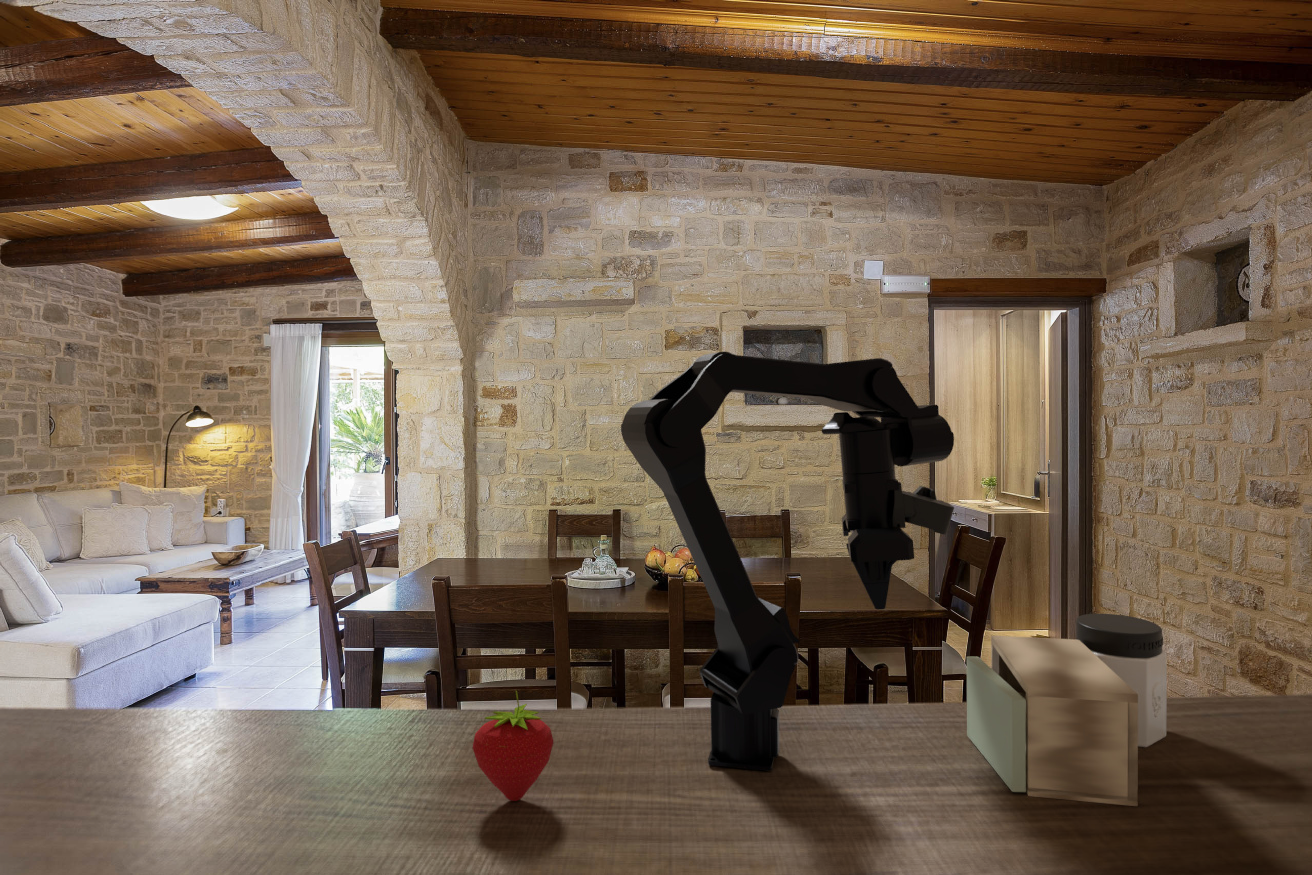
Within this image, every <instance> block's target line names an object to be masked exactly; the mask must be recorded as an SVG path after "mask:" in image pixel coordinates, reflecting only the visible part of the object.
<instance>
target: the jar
mask: <svg viewBox="0 0 1312 875" xmlns="http://www.w3.org/2000/svg"><path fill="white" fill-rule="evenodd" d="M1075 640H1080V641H1081V642H1082V643H1083V644H1084V645H1085V646H1086V647H1087V648H1088V649H1089V650H1091V651H1092V652H1093V653H1094V654H1095V655H1096V656H1097V657H1098V658H1099V659H1100V660H1101V661H1102V662H1104V663H1105V664H1106V665H1107V666H1108V667H1109V668H1110V669H1111V670H1112V671H1113V672H1114V673H1115V674H1117V675H1118V676H1119V677H1120V678H1121V679H1122V680H1123V681H1124V682H1125V683H1126V684H1127V685H1128V686H1130V687H1131V688H1132V689H1133V690H1134V691H1135V692H1136V693H1137V694H1138V747H1139V748H1140V747H1141V748H1148V747H1150V746H1151V745H1154V744H1155V743H1157V742H1158V741H1161V740H1162V739H1164V738H1165V737H1166V736H1167V692H1168V691H1167V688H1168V687H1167V679H1168V678H1167V673H1168V672H1167V670H1168V667H1167V666H1168V665H1167V664H1168V662H1167V659H1168V658H1167V655H1168V654H1167V651H1166V650H1163V646H1164V637H1163V628H1162V627H1161V626H1160V625H1158V624H1157V623H1155V622H1152V621H1150V620H1147V619H1143V618H1140V617H1134V616H1129V615H1123V614H1117V613H1116V614H1114V613H1088V614H1087V613H1086V614H1083V615H1080V616H1079V615H1078V617H1076V619H1075Z"/></svg>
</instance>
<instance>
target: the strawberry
mask: <svg viewBox="0 0 1312 875" xmlns="http://www.w3.org/2000/svg"><path fill="white" fill-rule="evenodd" d="M515 696H516V703H517V706H516V707H515V708H514V713H513V711H495V710H493V711H492V714H493V715H490V716H485V717H484V720H489V721H488V722H487V721H486V723H483V725H482V726H481V727H480V728H478V730H477V731H476V732H475V734H474V738H473V743H472V751H473V754H474V757H475V760H476V762H477V765H478V767H479V769H480V770H481V771H482V773H483V774H484V775H485V776H486V777H487V779H488V781H489V782H491V784H493V786H495V787H496V788H497V789H498V790H499V791H500V792H501V793H502V794H503V795H504V797H505V798H506V799H507V800H508V801H511V802H517V801H519V800H521V799H522V798H524V796H525V795H526V794H527V791H529V789H530V788H531V787H532V786H533V784H534V783H536V782H537V780H538V778H539V776H540V775H541V774H542V772H543V771H544V770H545V767H546V766H547V765H548V763H549V760H550V758H551V753H552V751H553V750H552V749H553V747H554V737H553V734H552V730H551V728H550V726H548V725H547V723H546V722H544V721H543V720H542V717H540V716H536V715H537V714H539V713H540V712H539V711H535V710H528V709H525V708H526V706H527V704H528V703H524V704H522V705H520V702H519V697H518V696H519V695H518V691H517V690H515Z"/></svg>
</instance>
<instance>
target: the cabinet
mask: <svg viewBox="0 0 1312 875" xmlns="http://www.w3.org/2000/svg"><path fill="white" fill-rule="evenodd" d="M990 638H991V639H990V649H991V650H990V651H991V652H990V654H991V655H990V666H991V667H990V668H991V669H992V670H993V671H995V672H996V673H997V674H998V675H999V676H1000V677H1001V678H1002V679H1003V680H1004V681H1006V682H1007V683H1008V684H1009V685H1010V686H1011V687H1012V688H1013V689H1014V690H1015V691H1017V692H1018V693H1019V694H1020V695H1021V696H1022V697H1023V698H1024V699H1025V711H1026V792H1025V793H1026V794H1027V796H1028V797H1036V798H1043V799H1044V798H1047V799H1056V800H1057V799H1058V800H1066V801H1067V800H1068V801H1077V802H1078V801H1079V802H1088V803H1098V804H1108V805H1109V804H1111V805H1119V806H1130V807H1132V806H1133V807H1138V802H1139V801H1138V788H1139V787H1138V786H1139V785H1138V784H1139V783H1138V781H1139V780H1138V779H1139V778H1138V777H1139V776H1138V775H1139V773H1138V772H1139V771H1138V769H1139V768H1138V765H1139V762H1138V759H1139V758H1138V756H1139V755H1138V754H1139V751H1138V750H1139V748H1138V747H1139V746H1138V694H1137V693H1136V692H1135V691H1134V690H1133V689H1132V688H1131V687H1130V686H1128V685H1127V684H1126V683H1125V682H1124V681H1123V680H1122V679H1121V678H1120V677H1119V676H1118V675H1117V674H1115V673H1114V672H1113V671H1112V670H1111V669H1110V668H1109V667H1108V666H1107V665H1106V664H1105V663H1104V662H1102V661H1101V660H1100V659H1099V658H1098V657H1097V656H1096V655H1095V654H1094V653H1093V652H1092V651H1091V650H1089V649H1088V648H1087V647H1086V646H1085V645H1084V644H1083V643H1082V642H1081V641H1080V640H1076V638H1075V639H1072V638H1071V639H1069V638H1055V637H1054V638H1050V637H1031V636H1027V637H1026V636H1010V635H991V636H990Z"/></svg>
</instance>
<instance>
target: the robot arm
mask: <svg viewBox="0 0 1312 875" xmlns="http://www.w3.org/2000/svg"><path fill="white" fill-rule="evenodd" d="M730 393H739V394H750V395H751V394H752V395H763V396H764V395H766V396H775V397H776V396H777V397H790V398H802V399H803V398H804V399H807V400H811V401H814V402H815V403H817V404H819V405H821V406H824V407H827V408H831V409H835V410H839V411H840V412H834V413H833V416H831V419H830V420H829V421H828V422H827V423H826V424H825V425H824V426H823V427H822V429H821V433H822V434H823V435H838V436H839V450H840V460H841V472H842V473H841V474H842V480H841V482H842V484H841V485H842V490H843V496H844V498H843V499H844V507H845V508H844V509H845V513H844V515H843V516H842V517H841V526H842V527H841V529H842V535H843V537H847V543H846V544H845V546H846V549H847V553H848V557H849V559H850V562H851V563H852V564H853V566H854V569H855V570H856V573H857V574H858V577H859V579H860V581H861V582H862V585H863V587H864V589H865V591H866V593H867V594H868V597H869V599H870V600H871V604H872V606H873V608H874V609H875V610H877V611H878V610H885V609H886V607H887V606H886V605H887V600H888V593H889V586H890V581H891V580H890V579H891V574H892V568H893V566H894V564H895V563H897V561H911V560H914V559H915V550H914V548H915V547H914V540H913V538H912V537H911V536H910V535H909V534H908V533H907V532H906V531H905V530H903V529H905V528H906V523H908V524H911V525H914V526H918V527H922V528H925V529H928V530H932V531H933V532H934V533H936V534H940V535H945V536H946V535H947V533H948V530H949V526H950V523H951V521H952V520H951V519H952V518H953V517H952V516H953V514H954V509H955V506H953V505H951V504H950V503H948V502H946V501H943V500H942V499H937V496H936V491H935V490H934V489H933V488H930V487H928V486H927V487H926V486H922V485H919V486H918V487H917V488H916V489H915V490H914V491H913V492H912V491H905V490H902V489H903V488H902V487H903V486H902V482H900V481H899V480H898V479H897V478H896V477H897V476H896V469H895V468H896V466H897V467H902V468H903V467H908V466H915V465H922V464H923V465H924V464H929V463H937V462H942V461H944V460H946V459H947V458H948V457H949V456H950V455H951V453H952V451H953V449H954V446H955V436H954V432H953V431H952V429H951V428H952V427H951V426H950V424H949V423H948V421H947V420H946V418H945V417H943V416H942V415H940V414H939V413H940V412H939V411H940V410H939V405H938V404H922V405H918V404H917V403H916V402H915V400H914V399H913V398H912V396H911V394H910V393H909V392H908V390H907V389H906V387H905V385H904V384H903V382H902V381H901V380H900V378H899V377H898V373H897V372H896V370H895V368H894V366H893V363H892V362H891V361H889V360H888V359H885V358H881V357H878V358H877V357H876V358H870V359H869V358H868V359H867V358H866V359H860V360H849V361H841V362H833V363H832V362H831V363H830V362H829V363H817V362H809V361H808V362H807V361H798V360H789V359H779V358H769V357H760V356H749V355H738V354H734V353H732V352H730V351H717V352H713V353H712V352H711V353H706V354H702V355H701V356H699V357H697V358H696V359H695V361H693V363H692V364H691V365H690V366H689V367H688V368H687V369H685V371H683V372H682V373H681V374H679V375H678V376H676V377H675V378H674V379H672V380H671V381H670V382H669V383H667V384H666V385H665V386H663V387H662V388H661V389H659V390H658V391H657V392H656V393H655V394H653V395H652V396H651V397H650V399H645V400H642V401H639V402H636V403H634V404H633V405H631V406H630V407H629V408H628V410H627V411H626V412H625V414H624V417H623V420H622V423H621V425H620V433H621V437H622V440H623V442H624V443H625V445H626V447H627V448H628V450H629V451H630V453H631V454H632V455H633V457H634V459H635V460H636V461H637V462H636V463H638V465H639V466H640V467H641V469H642V470H643V471H644V472H645V473H646V474H647V475H648V477H650V478H651V480H652V481H653V482H654V483H655V484H656V485H657V487H659V489H660V491H662V493H663V495H664V497H665V499H666V502H667V504H668V506H669V509H670V511H671V513H672V516H673V518H674V519H675V521H676V524H677V527H678V529H679V531H680V533H681V535H682V537H683V539H684V540H683V541H684V542H685V544H686V547H687V549H688V551H689V553H690V555H691V558H692V560H693V562H694V564H695V565H694V566H695V567H696V569H697V572H698V573H699V576H700V577H701V580H702V582H703V584H704V587H705V589H706V591H707V594H708V595H709V596H708V597H709V598H710V600H711V603H712V604H713V607H714V628H713V629H714V635H715V638H716V641H717V647H716V648H715V649H714V651H713V652H712V653H711V655H709V657H708V658H707V659H706V661H705V662H704V663H703V665H702V666H701V667H700V668H699V670H698V671H699V676H700V678H701V680H702V683H703V687H705V688H707V689H709V690H711V691H712V695H711V697H710V747H711V748H710V753H709V755H708V758H707V764H708V765H709V766H713V767H724V768H725V767H726V768H736V769H737V768H738V769H745V770H757V771H766V772H767V771H769V772H770V771H771V770H773V766H774V760H775V759H776V758H777V757H779V750H780V710H779V708H782V707H783V705H784V703H785V698H786V695H787V691H788V689H789V685H790V681H791V678H792V675H793V674H794V672H795V669H796V665H797V664H798V663H799V654H798V650H797V647H796V645H795V644H799V643H800V639H799V638H798V637H797V636H796V635H795V634H794V632H793V630H792V628H791V625H790V621H789V617H788V614H787V612H786V610H785V608H784V607H781V606H779V605H777V604H774V603H772V602H770V601H767V600H765V599H763V598H761V597H758V596H757V593H756V591H755V589H754V586H753V583H752V582H751V579H750V577H749V575H748V572H747V570H746V567H745V565H744V563H743V561H742V559H741V555H740V554H739V551H738V548H737V547H736V544H735V542H734V540H733V538H732V535H731V533H730V530H729V529H728V526H727V524H726V521H725V518H724V517H723V514H722V512H721V510H720V507H719V505H718V503H717V500H716V498H715V495H714V493H713V491H712V489H711V486H710V484H709V482H708V479H707V476H706V462H707V461H706V460H707V449H706V444H705V443H706V442H705V440H704V436H703V431H702V430H703V428H705V426H706V425H707V424H708V423H709V422H710V421H711V420H712V419H713V418H714V417H715V416H716V414H717V413H718V411H719V409H720V408H721V406H722V405H723V403H724V401H725V400H726V397H727V396H728V395H730ZM841 411H842V412H841ZM849 412H852V413H854V414H855V415H857V417H853V416H852V415H851V414H849ZM877 418H880V420H879V419H877ZM849 533H850V534H849Z"/></svg>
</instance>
